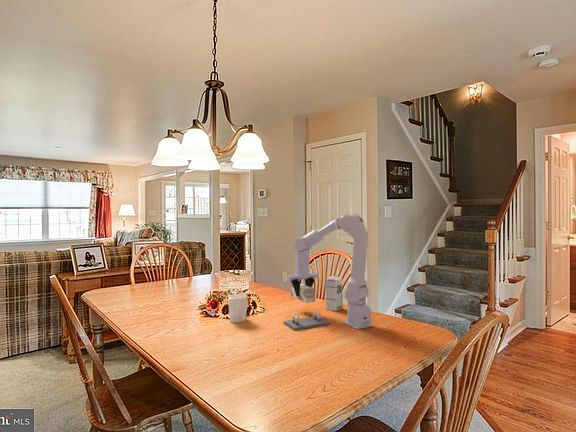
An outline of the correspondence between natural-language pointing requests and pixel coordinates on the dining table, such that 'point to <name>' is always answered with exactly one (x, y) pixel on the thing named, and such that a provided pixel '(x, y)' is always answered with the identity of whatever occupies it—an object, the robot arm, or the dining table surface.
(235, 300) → the white cup
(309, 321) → the peg stand
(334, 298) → the syrup box
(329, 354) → the dining table surface
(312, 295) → the white blocky piece
